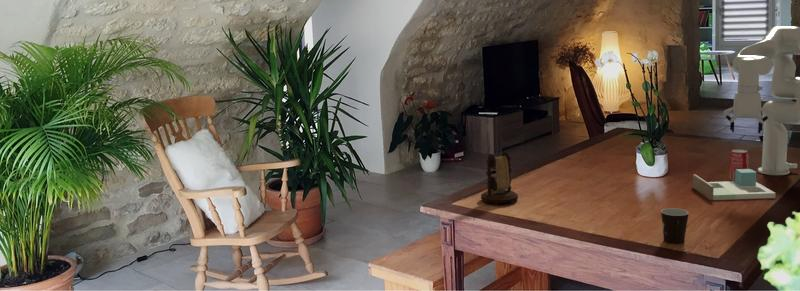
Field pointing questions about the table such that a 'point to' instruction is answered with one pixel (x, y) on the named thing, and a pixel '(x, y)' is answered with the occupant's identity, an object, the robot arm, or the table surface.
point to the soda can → (738, 161)
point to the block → (745, 177)
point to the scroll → (499, 180)
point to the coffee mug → (674, 225)
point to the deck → (730, 190)
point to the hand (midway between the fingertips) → (745, 132)
